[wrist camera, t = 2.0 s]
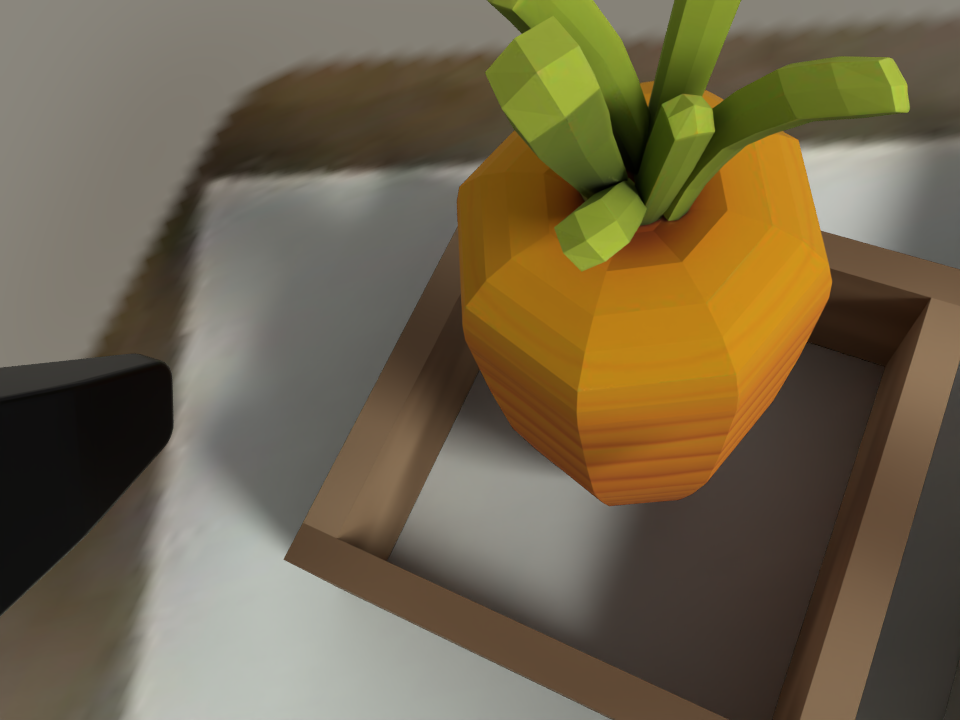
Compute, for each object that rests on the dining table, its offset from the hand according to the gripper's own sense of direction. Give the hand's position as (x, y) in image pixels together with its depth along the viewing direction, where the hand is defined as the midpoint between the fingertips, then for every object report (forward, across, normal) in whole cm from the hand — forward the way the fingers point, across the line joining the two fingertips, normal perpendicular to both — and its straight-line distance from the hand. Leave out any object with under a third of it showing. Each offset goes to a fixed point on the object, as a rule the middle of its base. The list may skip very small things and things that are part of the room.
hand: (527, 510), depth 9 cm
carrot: (+11, 0, +5) cm, 12 cm away
